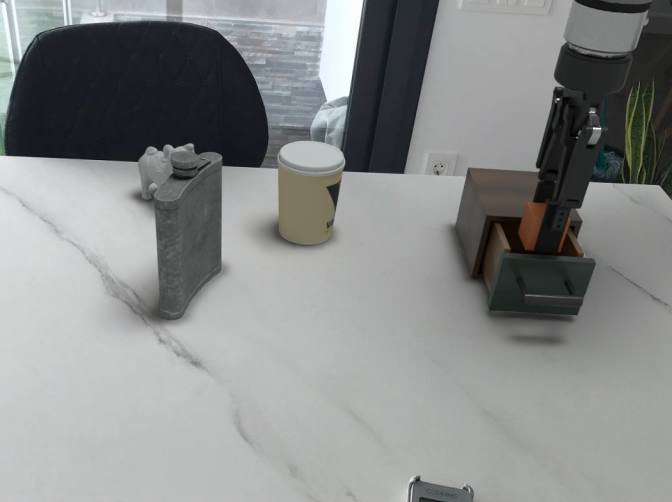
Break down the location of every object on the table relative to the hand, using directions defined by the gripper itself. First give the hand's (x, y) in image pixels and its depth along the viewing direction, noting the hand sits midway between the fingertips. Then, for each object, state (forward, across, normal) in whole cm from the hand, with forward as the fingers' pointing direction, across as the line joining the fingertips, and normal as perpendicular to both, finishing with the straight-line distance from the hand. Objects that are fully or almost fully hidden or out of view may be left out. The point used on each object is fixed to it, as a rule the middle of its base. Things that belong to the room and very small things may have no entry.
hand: (540, 240), depth 98 cm
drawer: (+8, -1, 0) cm, 8 cm away
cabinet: (+9, +11, 0) cm, 14 cm away
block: (0, 0, 0) cm, 0 cm away
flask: (+9, -3, +44) cm, 45 cm away
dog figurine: (+9, +20, +49) cm, 54 cm away
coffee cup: (+9, +14, +29) cm, 34 cm away
